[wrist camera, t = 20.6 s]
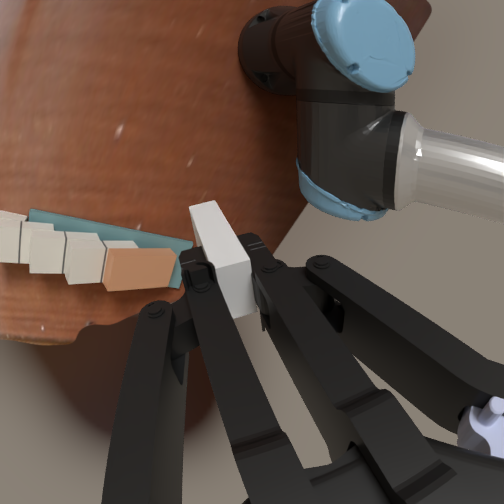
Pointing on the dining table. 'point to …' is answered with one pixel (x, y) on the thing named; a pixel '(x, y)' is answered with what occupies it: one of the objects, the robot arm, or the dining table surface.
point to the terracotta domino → (138, 268)
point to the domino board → (116, 236)
